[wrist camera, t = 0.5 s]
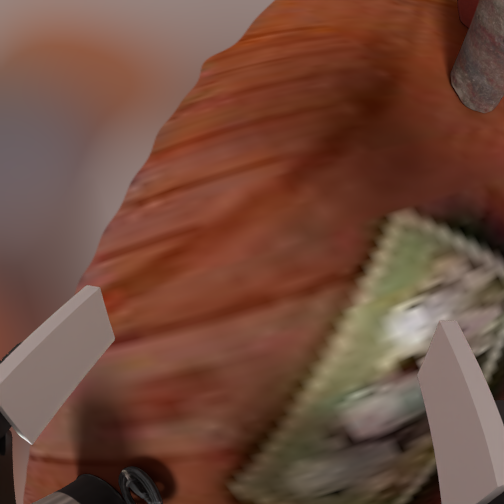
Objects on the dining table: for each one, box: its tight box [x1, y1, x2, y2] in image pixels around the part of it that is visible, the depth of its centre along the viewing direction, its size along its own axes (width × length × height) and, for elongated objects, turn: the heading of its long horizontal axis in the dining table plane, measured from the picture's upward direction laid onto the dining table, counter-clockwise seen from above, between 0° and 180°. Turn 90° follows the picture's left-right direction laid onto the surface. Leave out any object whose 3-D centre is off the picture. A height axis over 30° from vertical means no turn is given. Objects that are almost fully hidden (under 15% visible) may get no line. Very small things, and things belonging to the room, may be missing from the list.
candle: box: [451, 0, 504, 113], centre depth 17 cm, size 8×7×20 cm
